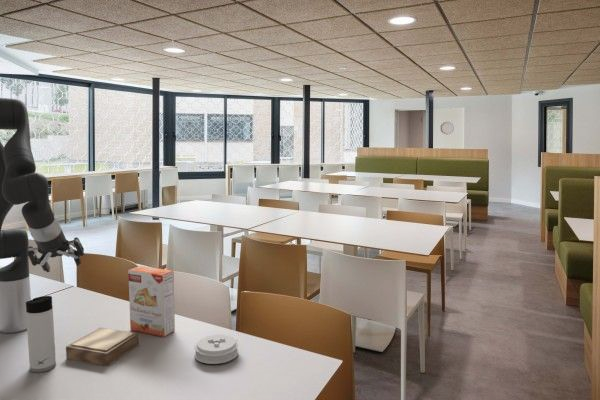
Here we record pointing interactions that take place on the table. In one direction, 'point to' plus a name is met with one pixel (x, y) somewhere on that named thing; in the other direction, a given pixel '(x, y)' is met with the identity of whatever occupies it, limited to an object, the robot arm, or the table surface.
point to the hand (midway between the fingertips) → (63, 266)
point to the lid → (216, 349)
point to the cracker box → (151, 300)
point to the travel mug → (40, 334)
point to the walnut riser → (102, 346)
